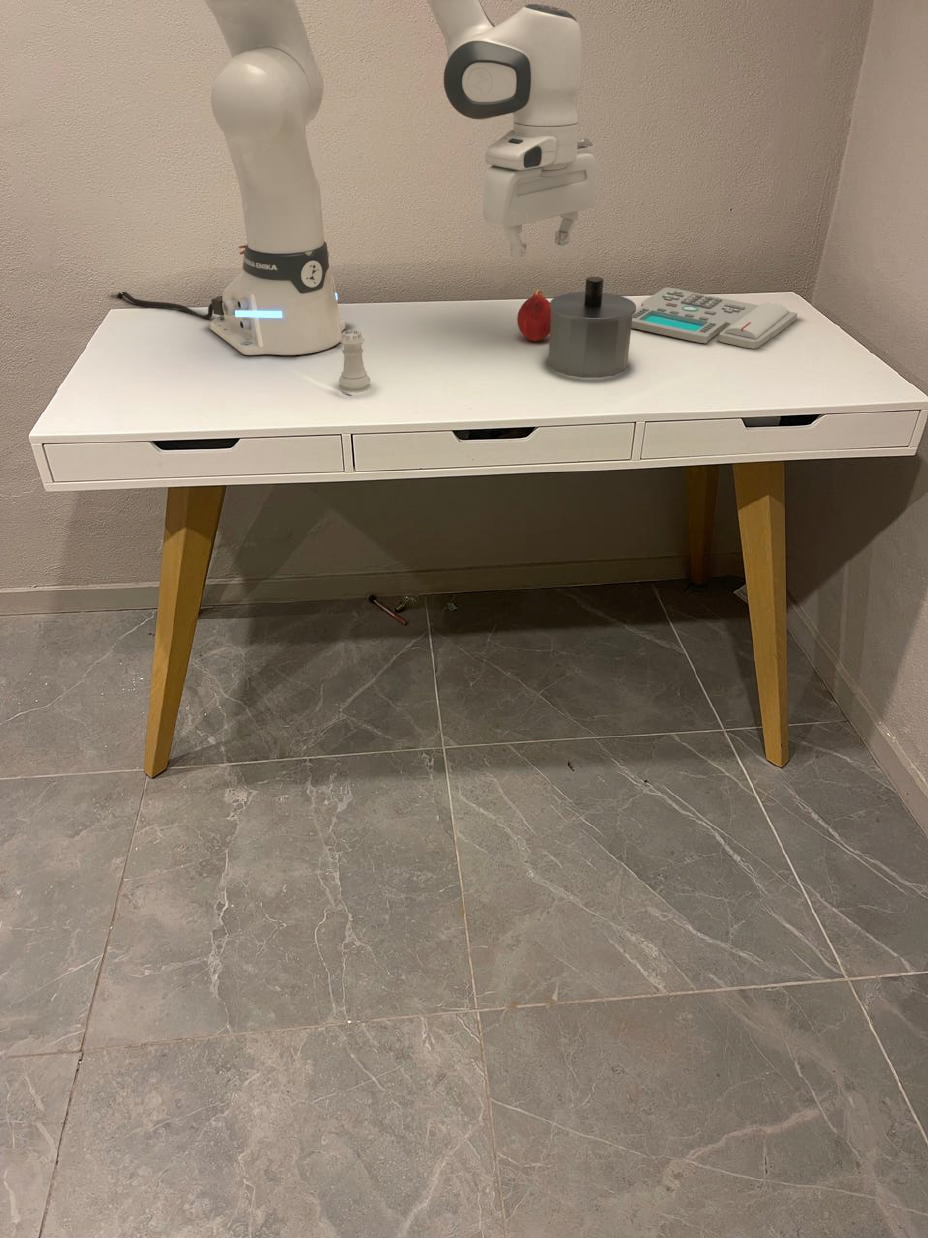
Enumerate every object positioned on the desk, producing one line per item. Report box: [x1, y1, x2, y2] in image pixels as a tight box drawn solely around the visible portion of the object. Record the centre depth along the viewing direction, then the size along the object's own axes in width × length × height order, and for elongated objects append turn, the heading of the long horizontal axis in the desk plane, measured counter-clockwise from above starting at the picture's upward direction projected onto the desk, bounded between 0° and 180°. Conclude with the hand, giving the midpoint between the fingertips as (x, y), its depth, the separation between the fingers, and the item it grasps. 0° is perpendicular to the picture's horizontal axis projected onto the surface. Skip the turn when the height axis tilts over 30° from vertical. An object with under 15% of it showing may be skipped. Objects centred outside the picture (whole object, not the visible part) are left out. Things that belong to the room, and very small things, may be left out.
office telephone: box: [631, 286, 798, 350], centre depth 155 cm, size 23×3×20 cm
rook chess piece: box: [338, 329, 372, 397], centre depth 130 cm, size 4×4×8 cm
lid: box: [549, 276, 637, 322], centre depth 134 cm, size 12×12×5 cm
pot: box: [547, 311, 632, 379], centre depth 138 cm, size 11×11×8 cm
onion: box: [516, 289, 551, 343], centre depth 146 cm, size 6×6×8 cm
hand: (540, 250), depth 140 cm, fingers open, 8 cm apart
